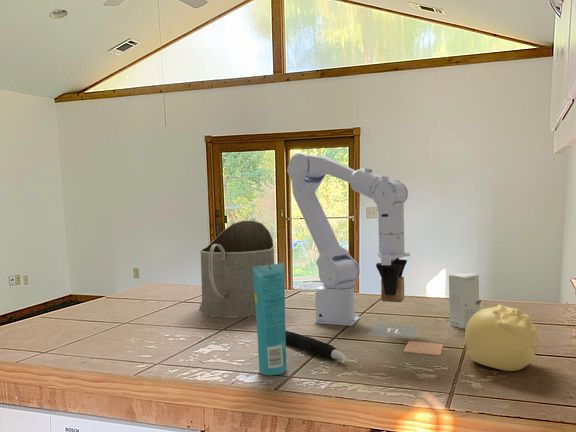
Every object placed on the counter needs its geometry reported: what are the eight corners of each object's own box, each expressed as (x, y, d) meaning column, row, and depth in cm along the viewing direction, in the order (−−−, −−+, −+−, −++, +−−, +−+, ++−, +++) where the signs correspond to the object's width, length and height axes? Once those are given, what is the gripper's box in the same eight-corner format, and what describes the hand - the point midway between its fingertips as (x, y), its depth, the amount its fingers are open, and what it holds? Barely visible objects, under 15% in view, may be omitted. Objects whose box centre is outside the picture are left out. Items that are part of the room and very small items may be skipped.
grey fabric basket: (287, 300, 145) (285, 219, 144) (256, 327, 114) (253, 225, 114) (217, 298, 151) (215, 221, 150) (170, 324, 120) (166, 226, 119)
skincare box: (464, 329, 107) (463, 277, 107) (448, 325, 111) (447, 274, 111) (481, 325, 111) (480, 274, 110) (464, 321, 114) (463, 272, 114)
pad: (403, 352, 92) (403, 351, 92) (408, 342, 99) (408, 341, 99) (440, 356, 90) (440, 354, 90) (443, 345, 96) (443, 344, 96)
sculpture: (536, 382, 76) (535, 316, 76) (459, 369, 82) (458, 308, 82) (541, 360, 86) (540, 302, 85) (472, 351, 92) (471, 296, 92)
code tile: (366, 335, 105) (366, 334, 105) (376, 324, 114) (376, 323, 114) (412, 339, 101) (412, 338, 101) (418, 327, 110) (418, 326, 110)
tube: (276, 362, 88) (273, 261, 88) (296, 368, 85) (293, 263, 85) (248, 374, 83) (245, 266, 82) (268, 380, 79) (265, 268, 79)
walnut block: (381, 301, 106) (381, 279, 106) (385, 297, 110) (384, 276, 110) (401, 302, 104) (400, 280, 104) (404, 298, 108) (403, 276, 108)
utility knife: (357, 366, 86) (356, 349, 86) (341, 371, 84) (341, 354, 84) (286, 340, 103) (286, 327, 103) (271, 344, 101) (271, 330, 101)
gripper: (404, 236, 98) (405, 300, 99) (413, 231, 112) (414, 287, 112) (371, 235, 101) (372, 298, 102) (384, 231, 115) (385, 286, 115)
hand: (392, 292), depth 107 cm, fingers closed on walnut block, 4 cm apart
